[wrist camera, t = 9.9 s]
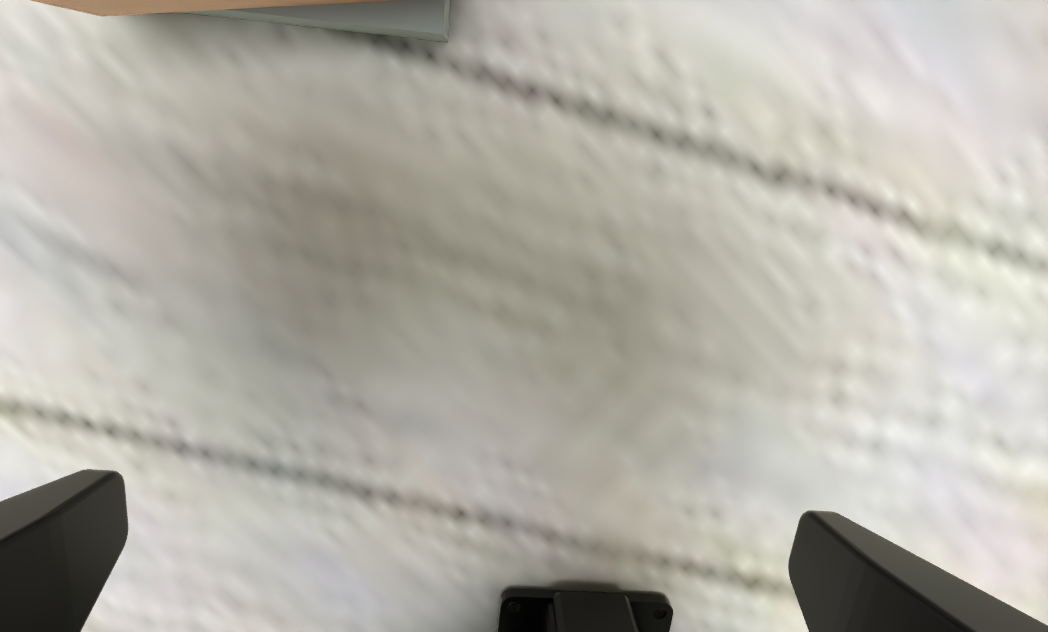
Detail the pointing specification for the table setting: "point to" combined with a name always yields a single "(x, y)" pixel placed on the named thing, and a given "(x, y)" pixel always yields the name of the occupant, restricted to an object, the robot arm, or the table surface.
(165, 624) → the table surface
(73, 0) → the tower top slab
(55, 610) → the robot arm
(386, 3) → the tower base slab
